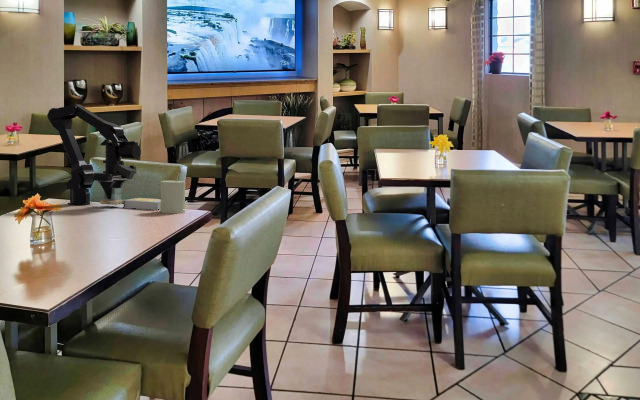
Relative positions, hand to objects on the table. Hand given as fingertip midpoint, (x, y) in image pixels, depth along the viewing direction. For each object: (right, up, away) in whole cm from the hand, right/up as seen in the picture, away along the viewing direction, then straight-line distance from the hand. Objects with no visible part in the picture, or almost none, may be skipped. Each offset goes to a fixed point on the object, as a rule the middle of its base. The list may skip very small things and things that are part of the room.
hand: (112, 198), depth 229 cm
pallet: (0, -2, 0) cm, 2 cm away
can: (+25, -5, -7) cm, 26 cm away
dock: (+13, -4, +3) cm, 13 cm away
